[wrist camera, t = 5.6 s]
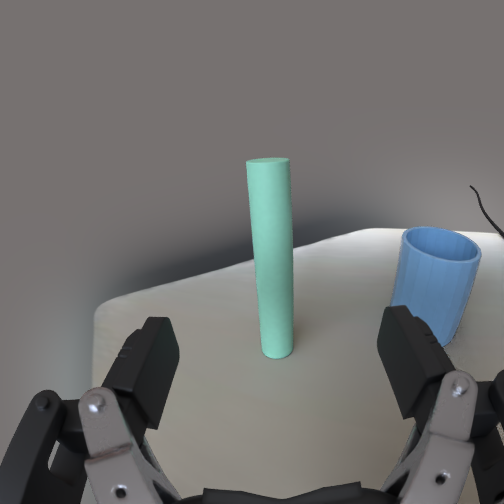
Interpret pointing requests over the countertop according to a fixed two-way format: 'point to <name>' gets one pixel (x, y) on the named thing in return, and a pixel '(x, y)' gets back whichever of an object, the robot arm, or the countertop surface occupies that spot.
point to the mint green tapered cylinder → (272, 251)
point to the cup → (436, 277)
